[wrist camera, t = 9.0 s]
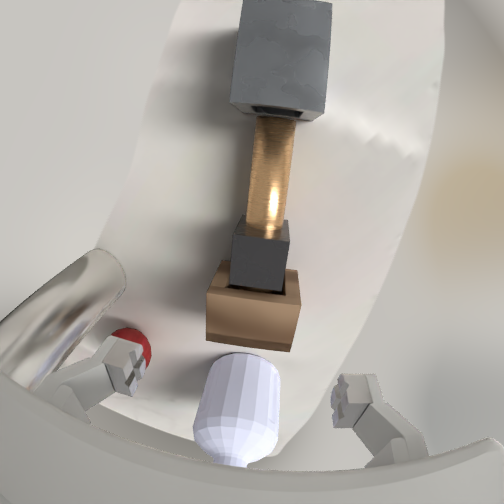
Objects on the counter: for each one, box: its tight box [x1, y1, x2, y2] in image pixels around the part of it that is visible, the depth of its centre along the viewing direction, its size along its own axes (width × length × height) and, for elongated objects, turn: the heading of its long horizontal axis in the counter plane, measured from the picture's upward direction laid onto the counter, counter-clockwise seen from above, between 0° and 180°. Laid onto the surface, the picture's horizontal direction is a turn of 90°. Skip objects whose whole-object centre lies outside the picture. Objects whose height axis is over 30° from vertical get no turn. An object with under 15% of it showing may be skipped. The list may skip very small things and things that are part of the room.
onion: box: [111, 328, 151, 369], centre depth 28 cm, size 6×6×8 cm
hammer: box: [229, 116, 296, 294], centre depth 22 cm, size 17×4×6 cm, turn 174°
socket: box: [206, 260, 301, 352], centre depth 25 cm, size 5×7×6 cm
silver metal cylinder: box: [0, 249, 126, 393], centre depth 18 cm, size 6×6×25 cm
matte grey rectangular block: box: [229, 0, 332, 121], centre depth 17 cm, size 9×6×6 cm
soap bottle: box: [193, 353, 280, 468], centre depth 22 cm, size 9×9×25 cm
